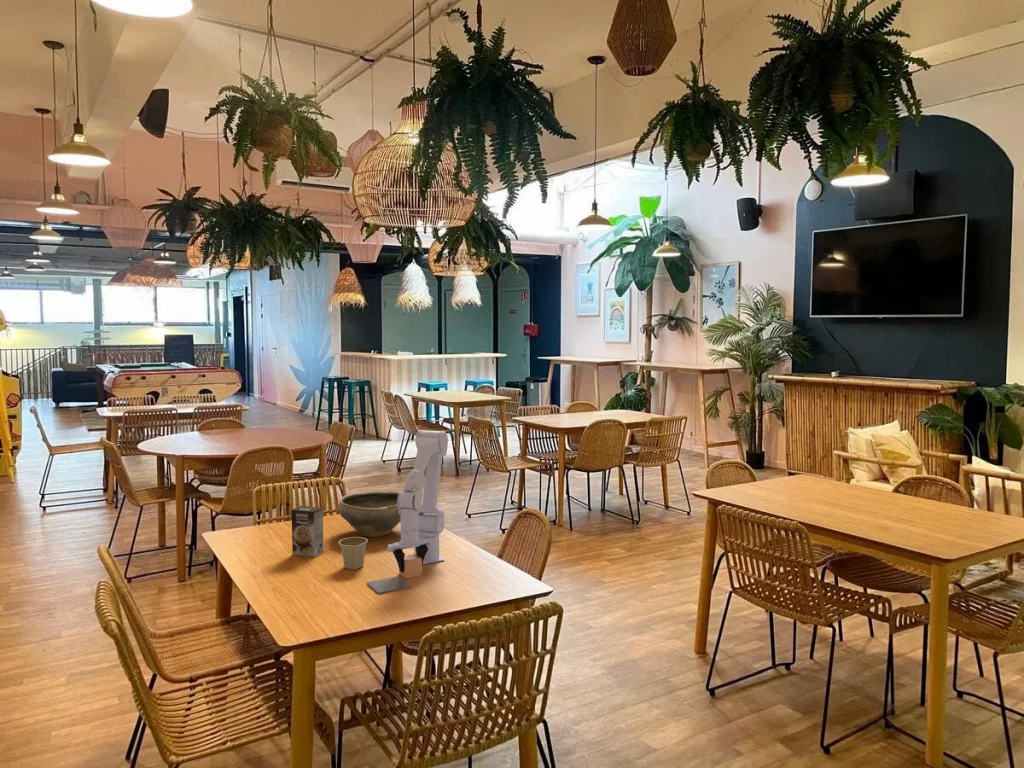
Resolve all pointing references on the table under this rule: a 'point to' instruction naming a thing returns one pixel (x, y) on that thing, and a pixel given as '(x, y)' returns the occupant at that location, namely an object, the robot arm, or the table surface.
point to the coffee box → (307, 531)
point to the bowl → (371, 512)
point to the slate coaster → (388, 585)
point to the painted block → (412, 566)
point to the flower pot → (353, 551)
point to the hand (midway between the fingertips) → (410, 570)
